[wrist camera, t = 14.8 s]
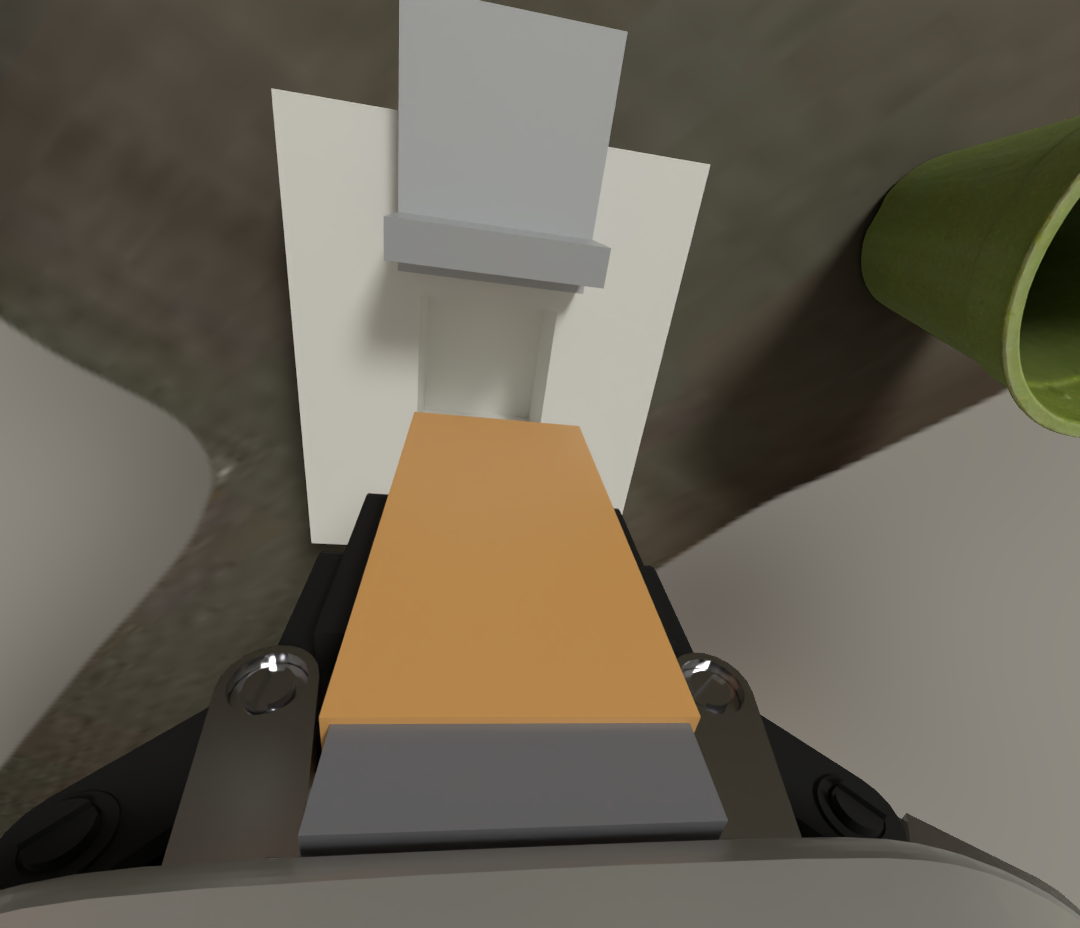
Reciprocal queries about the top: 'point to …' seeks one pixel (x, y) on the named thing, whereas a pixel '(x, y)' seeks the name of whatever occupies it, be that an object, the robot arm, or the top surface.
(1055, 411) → the plant pot
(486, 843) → the tan boxy piece
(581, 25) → the grey block
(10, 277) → the top surface
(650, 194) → the socket
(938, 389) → the top surface
